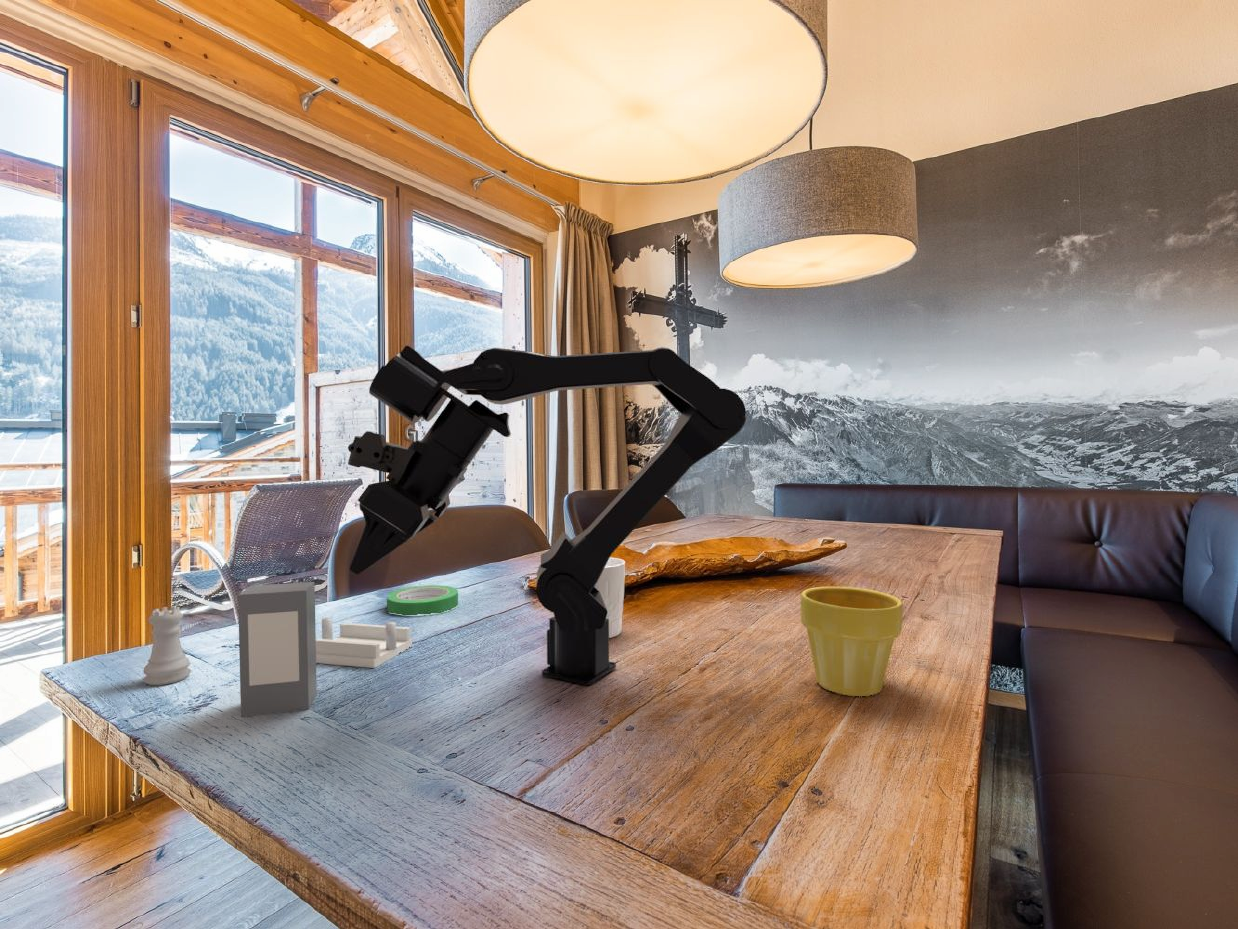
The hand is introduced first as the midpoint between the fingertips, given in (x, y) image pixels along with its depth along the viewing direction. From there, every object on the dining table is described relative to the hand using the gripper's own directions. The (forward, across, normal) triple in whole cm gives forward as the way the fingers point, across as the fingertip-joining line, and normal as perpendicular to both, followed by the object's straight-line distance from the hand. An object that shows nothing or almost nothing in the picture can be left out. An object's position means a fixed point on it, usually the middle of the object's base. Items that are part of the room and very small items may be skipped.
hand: (366, 563), depth 67 cm
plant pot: (-19, +8, +51) cm, 55 cm away
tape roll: (+11, -32, +8) cm, 35 cm away
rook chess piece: (+24, -4, -11) cm, 27 cm away
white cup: (-4, -15, +30) cm, 34 cm away
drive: (+15, +5, +2) cm, 16 cm away
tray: (+13, -10, +5) cm, 17 cm away
